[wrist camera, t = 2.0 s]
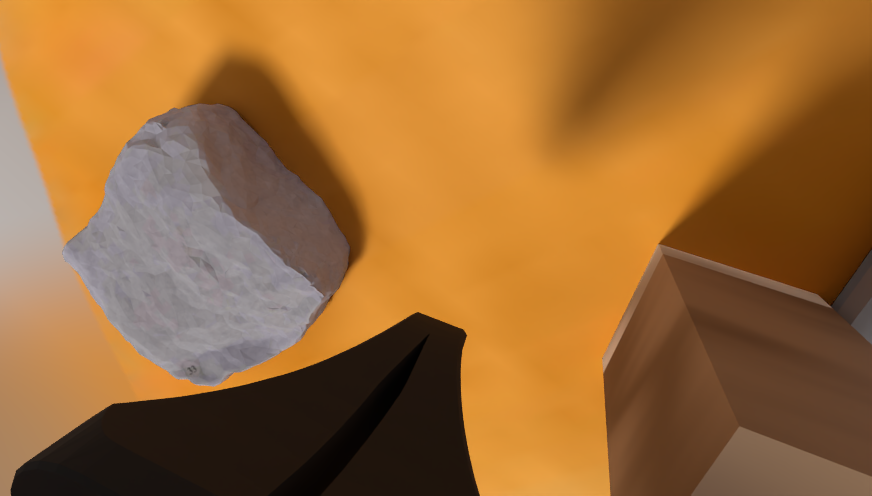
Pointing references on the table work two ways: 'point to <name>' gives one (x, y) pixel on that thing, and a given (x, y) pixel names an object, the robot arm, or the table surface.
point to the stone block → (208, 247)
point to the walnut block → (735, 388)
